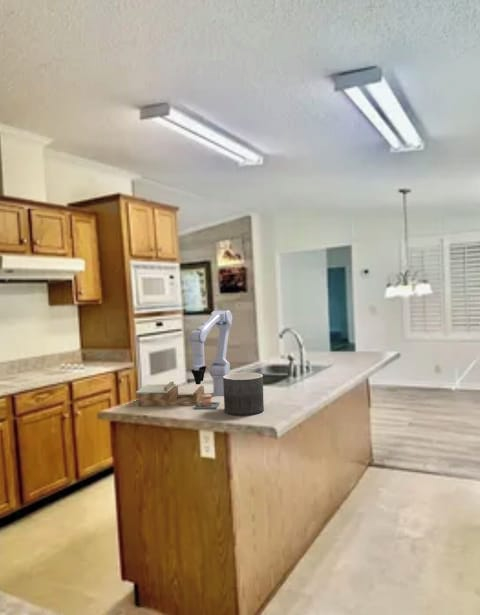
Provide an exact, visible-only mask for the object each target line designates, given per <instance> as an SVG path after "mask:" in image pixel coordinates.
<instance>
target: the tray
mask: <svg viewBox="0 0 480 615" xmlns="http://www.w3.org/2000/svg"><path fill="white" fill-rule="evenodd" d="M211 402H212V406H210V407H201V401H200V402H199V403H198V404H197V405H194V410H217V409H218V407H219V406H220V402H219V401H211Z"/></svg>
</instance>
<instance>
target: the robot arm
mask: <svg viewBox="0 0 480 615" xmlns="http://www.w3.org/2000/svg"><path fill="white" fill-rule="evenodd" d="M232 322H233V314H232V312H231V310H229V309H228V310H213V311H212V312H211V313H210V317H209V319H208V320H207V321H204V322H201V324H200V325H199V326H198V327H197V328H196V329H195V330H192V331H191V332H190V333H189V337H188V338H189V341H190V344H191V346H192V347H191V348H192V363H190V366H192V367H193V369H191V370H190V371H191V374H192V375H193V379H194V382H195V385H201V382H204V378H205V373H206V369H207V366H206V363H205V360H206V359H205V342H206V341H207V340H206V339H207V337H208V335H209V334H210V333H211V332H212V330H213V329H212V327H214V325H215V327H216V328H219V332H218V339H217V347H216V348H217V349H216V354H215V358H214V359H213V360H211V363H210V366H209V371H208V372H209V375H210V377H211V378H212V387H213V390H212V391H213V393H212V394H211V395H212V396H218V397H219V396H220V397H221V396H223V397H224V386H223V376H225V375H228V374H231V368H230V367H231V364H230V362H229V361H228V360H227V359H226V358H227V351H228V344H229V343H228V342H229V335H230V328H231V327H232Z"/></svg>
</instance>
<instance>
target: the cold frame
mask: <svg viewBox="0 0 480 615" xmlns="http://www.w3.org/2000/svg"><path fill="white" fill-rule="evenodd" d="M202 394H205V386H204V385H200V386H199V387H198V388H197V389H196V390H195V391H194V392H193V394H192V393H191V394H189V393H188V394H179V386H178V385H176V386H175V387H173V388H172V389H171V390H170V391H168V392H167V393H137V398H138V400H137V402H138V407H141V406H142V407H144V406H146V407H147V406H148V407H150V406H153V407H156V406H157V407H160V406H161V407H165V406H167V407H168V406H169V407H170V406H171V407H172V406H179V407H180V406H182V407H183V406H187V407H188V406H196V405H197V404H198V403H199V402H201V398H200V395H202Z"/></svg>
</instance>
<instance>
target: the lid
mask: <svg viewBox="0 0 480 615" xmlns="http://www.w3.org/2000/svg"><path fill="white" fill-rule="evenodd" d="M176 384H177V383H176ZM176 384H175V381H170V382H169V383H165V384H157V383H156V384H146V385H144V386H143V387H141V388H140V389H138V390H137V391H135V394H139V393H167V392H168V391H170V390H171V389H172V388H173V387H175V386H177V385H176Z"/></svg>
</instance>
